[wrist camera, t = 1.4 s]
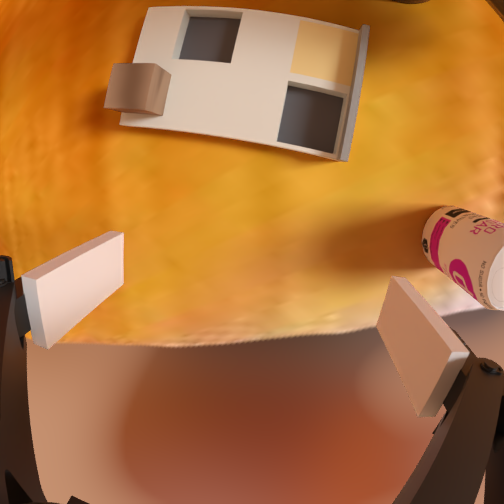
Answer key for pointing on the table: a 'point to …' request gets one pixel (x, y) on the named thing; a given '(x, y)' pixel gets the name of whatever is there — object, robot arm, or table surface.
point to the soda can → (468, 252)
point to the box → (256, 77)
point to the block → (137, 88)
